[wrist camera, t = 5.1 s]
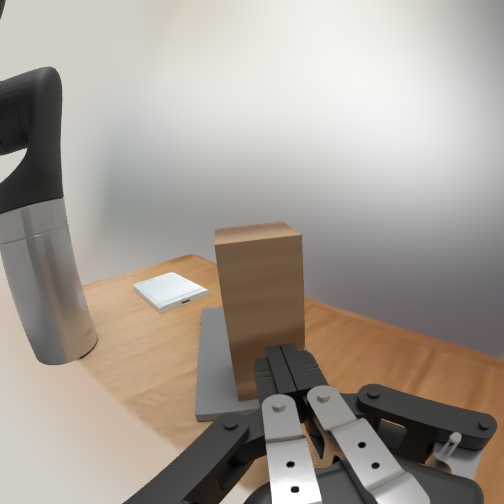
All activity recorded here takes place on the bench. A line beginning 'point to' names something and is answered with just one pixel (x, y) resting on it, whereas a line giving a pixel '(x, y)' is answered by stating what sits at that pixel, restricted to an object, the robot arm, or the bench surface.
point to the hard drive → (169, 291)
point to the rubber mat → (217, 371)
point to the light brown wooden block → (260, 294)
